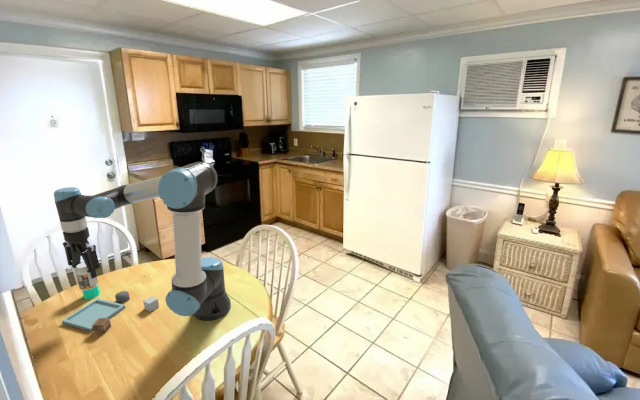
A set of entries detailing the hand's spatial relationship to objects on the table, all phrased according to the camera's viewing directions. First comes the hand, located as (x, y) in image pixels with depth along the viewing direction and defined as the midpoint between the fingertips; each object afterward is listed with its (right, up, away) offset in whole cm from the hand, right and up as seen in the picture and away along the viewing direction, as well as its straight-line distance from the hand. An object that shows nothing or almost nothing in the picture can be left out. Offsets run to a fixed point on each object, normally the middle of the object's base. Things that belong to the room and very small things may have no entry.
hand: (87, 282), depth 122 cm
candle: (-11, -11, +17) cm, 23 cm away
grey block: (+20, -13, +10) cm, 26 cm away
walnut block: (+8, -18, -3) cm, 19 cm away
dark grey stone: (+5, -12, +15) cm, 19 cm away
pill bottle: (0, -2, +1) cm, 2 cm away
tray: (-1, -15, +5) cm, 15 cm away
